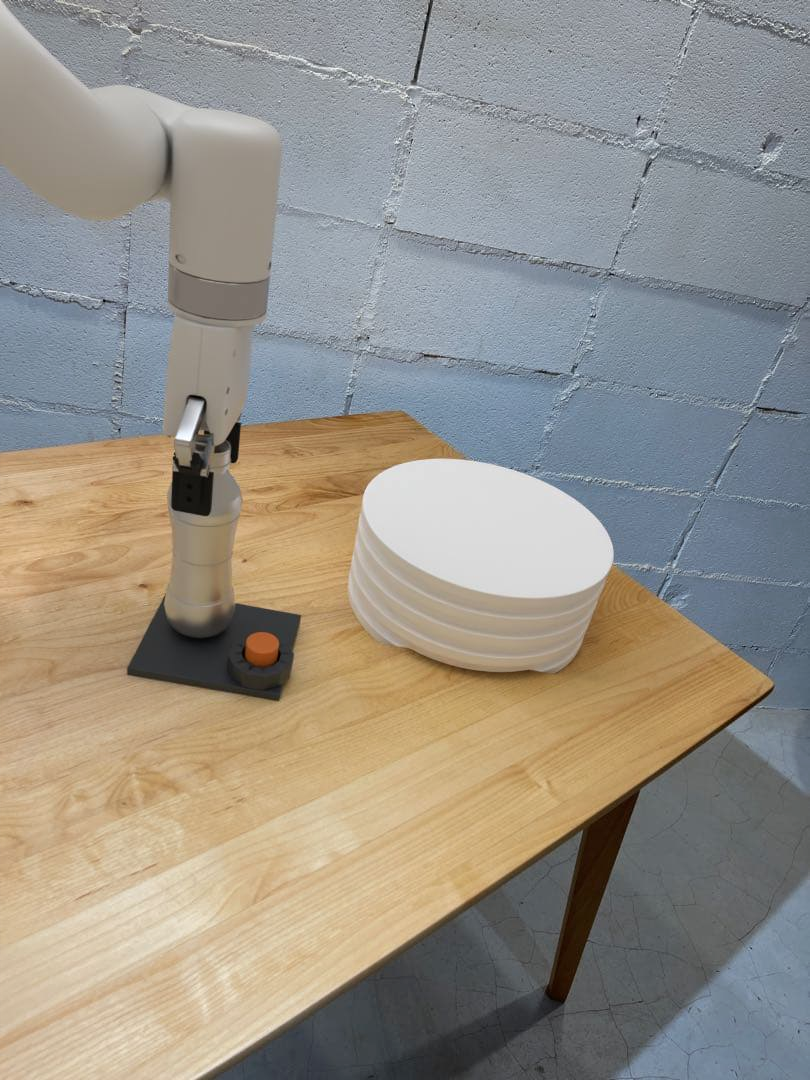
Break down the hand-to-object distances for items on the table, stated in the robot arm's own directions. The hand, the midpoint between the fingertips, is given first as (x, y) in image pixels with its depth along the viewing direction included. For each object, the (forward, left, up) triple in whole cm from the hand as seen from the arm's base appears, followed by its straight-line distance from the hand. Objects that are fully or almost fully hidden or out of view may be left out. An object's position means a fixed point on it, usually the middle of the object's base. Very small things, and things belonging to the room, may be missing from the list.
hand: (206, 484), depth 72 cm
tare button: (+7, -4, -15) cm, 17 cm away
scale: (+3, -1, -18) cm, 19 cm away
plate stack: (+28, +15, -18) cm, 36 cm away
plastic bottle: (0, 0, -16) cm, 16 cm away
